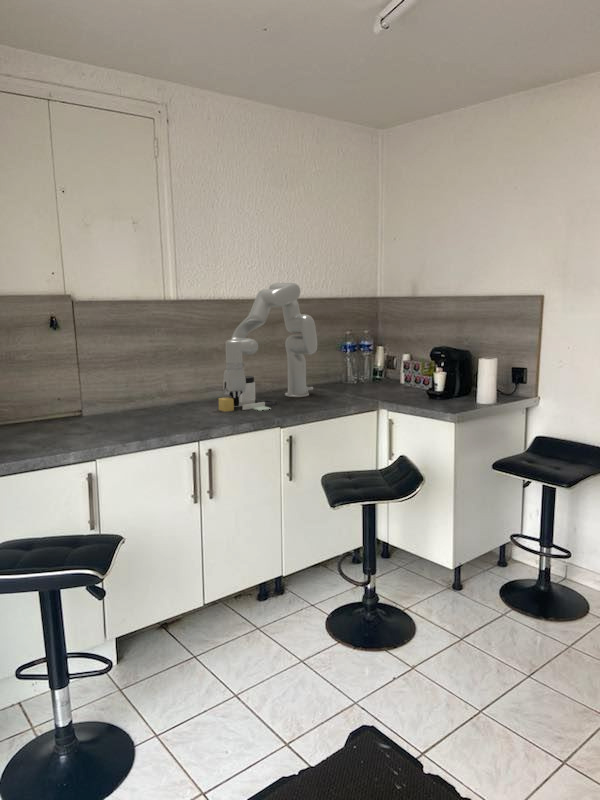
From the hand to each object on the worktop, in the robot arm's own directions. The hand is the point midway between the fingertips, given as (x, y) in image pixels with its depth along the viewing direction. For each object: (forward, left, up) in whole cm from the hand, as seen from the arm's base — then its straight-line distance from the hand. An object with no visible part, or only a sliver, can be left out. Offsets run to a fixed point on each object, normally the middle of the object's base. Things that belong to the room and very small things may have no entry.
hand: (235, 405), depth 268 cm
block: (+5, 0, -2) cm, 5 cm away
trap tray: (-17, 0, -2) cm, 17 cm away
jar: (-15, -14, -2) cm, 20 cm away
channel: (-7, 0, -2) cm, 7 cm away
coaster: (-9, +9, -2) cm, 12 cm away
